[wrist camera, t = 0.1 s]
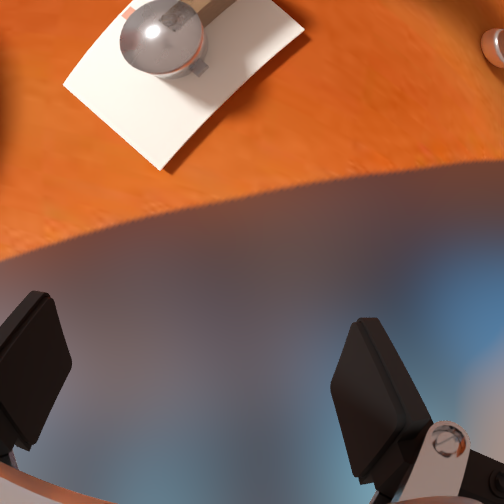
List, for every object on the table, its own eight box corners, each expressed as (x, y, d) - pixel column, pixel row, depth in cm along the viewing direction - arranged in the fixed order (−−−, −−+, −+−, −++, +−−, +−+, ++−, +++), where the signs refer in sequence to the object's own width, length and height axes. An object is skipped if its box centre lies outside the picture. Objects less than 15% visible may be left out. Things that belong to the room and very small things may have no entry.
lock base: (197, -48, 25) (195, -54, 23) (302, 32, 30) (305, 29, 29) (68, 85, 31) (62, 84, 30) (162, 168, 37) (159, 171, 35)
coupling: (180, 98, 32) (167, 95, 26) (120, 49, 29) (97, 38, 23) (286, 2, 27) (296, -19, 21) (223, -45, 24) (221, -71, 18)
